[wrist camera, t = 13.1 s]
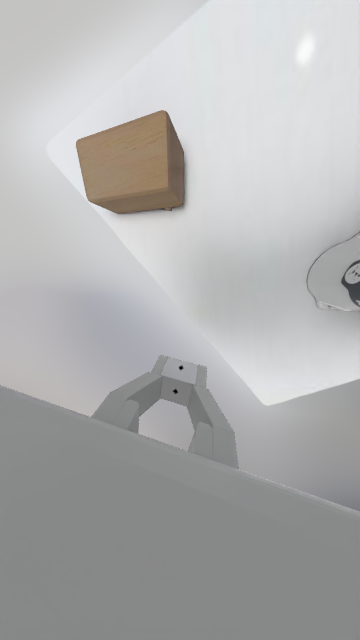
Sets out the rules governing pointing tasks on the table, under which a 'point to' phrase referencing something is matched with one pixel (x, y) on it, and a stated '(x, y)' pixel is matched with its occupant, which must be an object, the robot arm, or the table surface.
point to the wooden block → (134, 165)
